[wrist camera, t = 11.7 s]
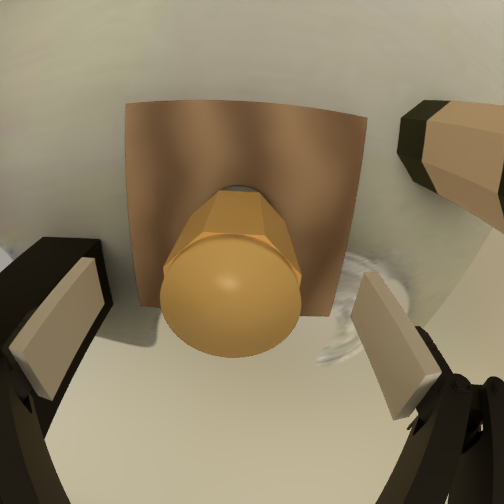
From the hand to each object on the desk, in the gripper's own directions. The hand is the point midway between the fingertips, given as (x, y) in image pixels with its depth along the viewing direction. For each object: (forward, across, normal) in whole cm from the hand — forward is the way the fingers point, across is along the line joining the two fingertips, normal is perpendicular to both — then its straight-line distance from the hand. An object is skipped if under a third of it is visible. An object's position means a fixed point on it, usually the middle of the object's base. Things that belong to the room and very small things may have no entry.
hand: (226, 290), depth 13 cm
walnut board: (+12, 0, 0) cm, 12 cm away
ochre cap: (+7, 0, 0) cm, 7 cm away
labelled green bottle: (+12, +17, +8) cm, 23 cm away
